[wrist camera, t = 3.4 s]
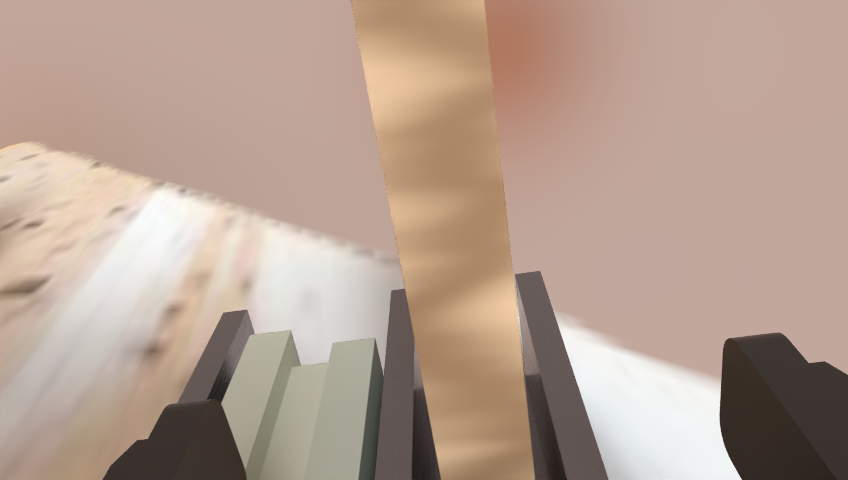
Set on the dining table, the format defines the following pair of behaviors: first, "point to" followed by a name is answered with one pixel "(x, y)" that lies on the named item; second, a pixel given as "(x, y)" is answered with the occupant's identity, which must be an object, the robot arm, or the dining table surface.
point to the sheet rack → (406, 403)
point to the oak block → (450, 226)
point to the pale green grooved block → (306, 410)
